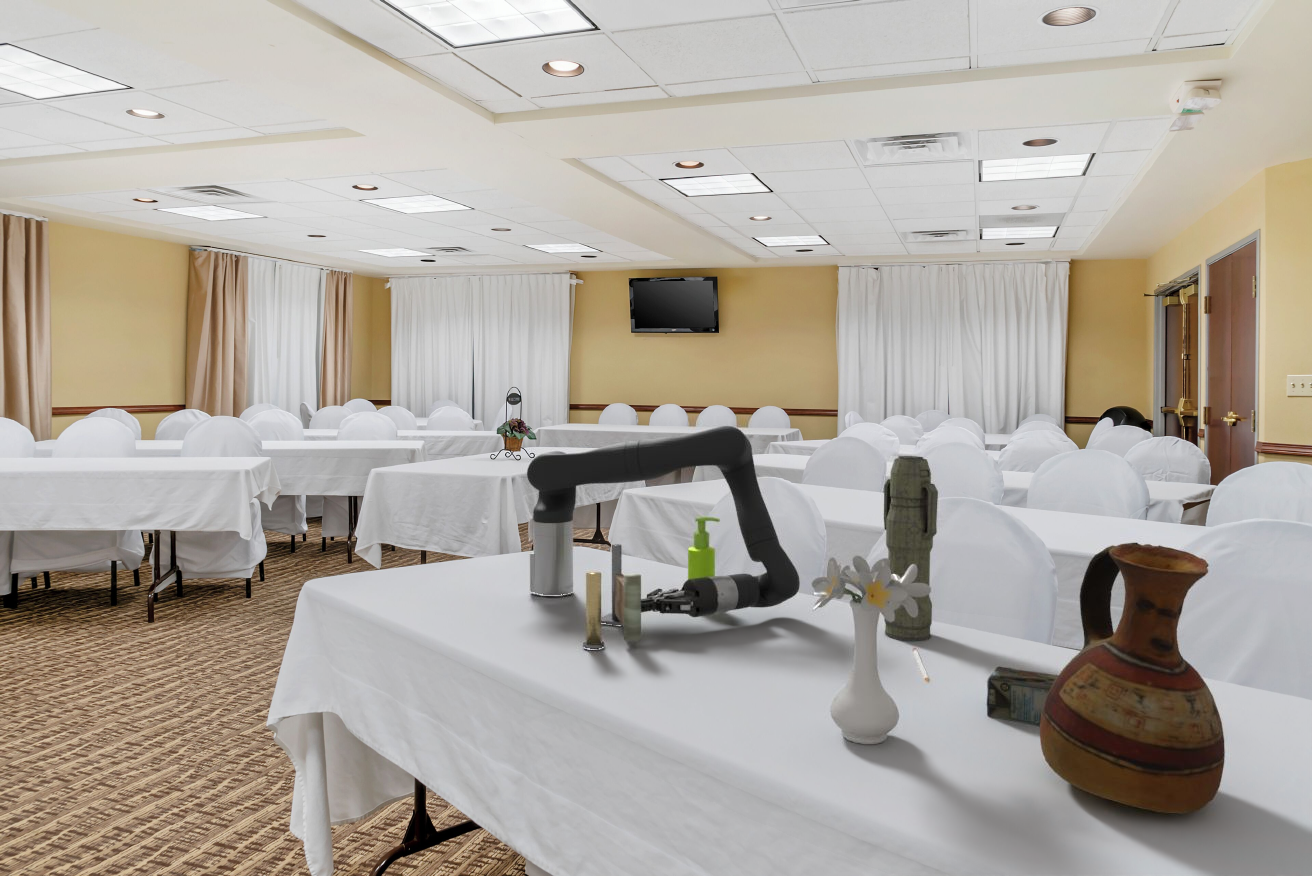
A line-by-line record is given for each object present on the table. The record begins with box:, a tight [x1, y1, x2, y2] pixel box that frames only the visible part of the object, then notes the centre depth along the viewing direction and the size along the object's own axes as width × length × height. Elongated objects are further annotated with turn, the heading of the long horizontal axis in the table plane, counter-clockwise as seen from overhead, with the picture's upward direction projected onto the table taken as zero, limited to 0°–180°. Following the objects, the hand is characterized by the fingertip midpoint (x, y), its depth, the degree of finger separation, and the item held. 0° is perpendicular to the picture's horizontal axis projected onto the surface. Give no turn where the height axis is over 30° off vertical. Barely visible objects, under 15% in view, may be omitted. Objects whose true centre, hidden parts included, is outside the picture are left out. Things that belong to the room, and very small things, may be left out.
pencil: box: [912, 647, 930, 683], centre depth 156 cm, size 1×19×1 cm, turn 171°
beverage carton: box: [986, 665, 1059, 727], centre depth 130 cm, size 8×19×7 cm, turn 60°
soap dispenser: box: [687, 516, 721, 580], centre depth 196 cm, size 6×7×20 cm
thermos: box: [883, 455, 939, 642], centre depth 174 cm, size 9×12×35 cm
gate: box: [615, 573, 642, 642], centre depth 173 cm, size 17×3×12 cm, turn 12°
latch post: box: [582, 571, 605, 649], centre depth 166 cm, size 4×4×14 cm
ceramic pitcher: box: [1039, 542, 1226, 814], centre depth 107 cm, size 20×20×30 cm
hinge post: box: [601, 543, 623, 626], centre depth 184 cm, size 6×6×16 cm
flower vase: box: [811, 555, 932, 745], centre depth 124 cm, size 13×18×25 cm
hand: (633, 606), depth 171 cm, fingers closed
